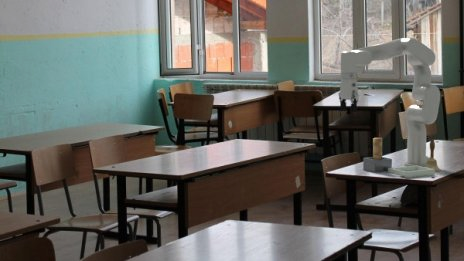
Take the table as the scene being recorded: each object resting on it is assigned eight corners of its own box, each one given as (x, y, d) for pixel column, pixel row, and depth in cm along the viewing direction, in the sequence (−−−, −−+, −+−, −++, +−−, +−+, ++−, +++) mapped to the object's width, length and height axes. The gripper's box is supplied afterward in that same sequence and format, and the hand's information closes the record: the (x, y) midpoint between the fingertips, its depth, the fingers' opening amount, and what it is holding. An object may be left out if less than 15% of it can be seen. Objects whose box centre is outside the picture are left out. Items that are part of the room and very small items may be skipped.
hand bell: (421, 169, 439) (421, 138, 437) (437, 169, 440) (437, 137, 438) (426, 172, 431) (426, 140, 429) (442, 171, 431) (443, 139, 430)
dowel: (378, 169, 434) (378, 137, 432) (383, 170, 430) (384, 138, 428) (371, 170, 432) (371, 138, 430) (376, 171, 428) (376, 139, 426)
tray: (416, 171, 433) (416, 165, 432) (434, 175, 420) (434, 169, 420) (388, 174, 425) (388, 168, 425) (405, 178, 413) (405, 171, 413)
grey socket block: (380, 170, 438) (380, 156, 437) (391, 173, 429) (391, 158, 428) (363, 171, 434) (363, 157, 433) (374, 174, 425) (374, 160, 424)
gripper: (364, 76, 422) (364, 112, 424) (345, 75, 438) (345, 109, 440) (351, 77, 419) (351, 112, 421) (332, 76, 435) (333, 110, 437)
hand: (348, 111), depth 431 cm, fingers open, 9 cm apart
